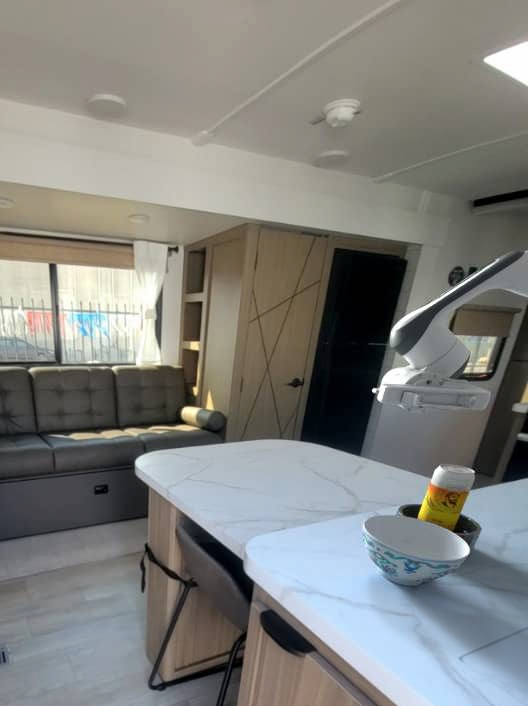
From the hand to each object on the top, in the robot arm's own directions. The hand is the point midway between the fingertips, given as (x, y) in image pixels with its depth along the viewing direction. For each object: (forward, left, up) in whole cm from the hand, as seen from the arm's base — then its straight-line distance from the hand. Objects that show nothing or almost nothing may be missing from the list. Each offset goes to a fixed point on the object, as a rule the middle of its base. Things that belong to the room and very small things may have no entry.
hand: (446, 402), depth 80 cm
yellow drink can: (+1, +12, -25) cm, 28 cm away
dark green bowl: (+1, +12, -25) cm, 28 cm away
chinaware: (+12, +25, -25) cm, 38 cm away
